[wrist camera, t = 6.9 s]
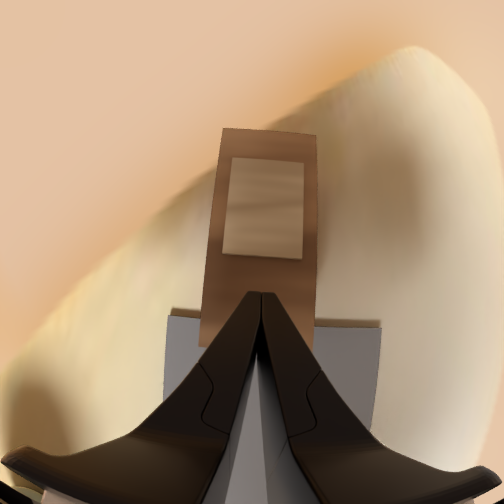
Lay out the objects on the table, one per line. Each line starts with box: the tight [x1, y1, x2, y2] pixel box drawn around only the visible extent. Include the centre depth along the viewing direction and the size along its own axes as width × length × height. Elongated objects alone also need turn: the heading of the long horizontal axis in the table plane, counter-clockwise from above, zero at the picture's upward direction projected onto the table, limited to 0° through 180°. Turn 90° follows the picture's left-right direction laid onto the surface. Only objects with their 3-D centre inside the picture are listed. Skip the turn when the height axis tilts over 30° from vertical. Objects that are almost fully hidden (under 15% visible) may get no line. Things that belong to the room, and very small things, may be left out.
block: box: [198, 128, 317, 353], centre depth 15 cm, size 5×4×10 cm
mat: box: [163, 315, 382, 504], centre depth 15 cm, size 18×12×1 cm, turn 176°
